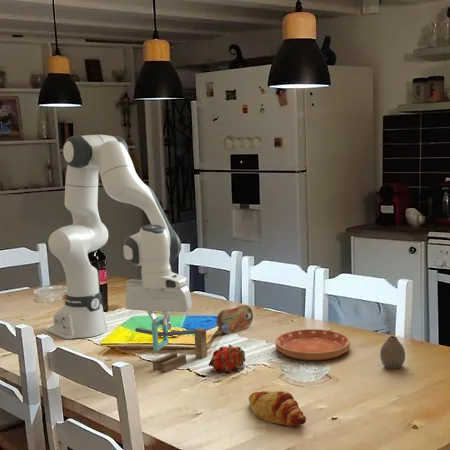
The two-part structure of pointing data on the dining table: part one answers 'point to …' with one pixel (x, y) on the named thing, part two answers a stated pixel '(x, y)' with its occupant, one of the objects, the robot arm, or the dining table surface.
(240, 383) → the dining table surface
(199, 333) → the curved rod stand
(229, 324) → the tin
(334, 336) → the saucer
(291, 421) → the croissant
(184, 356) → the slot block
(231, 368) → the dragon fruit
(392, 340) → the vase
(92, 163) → the robot arm
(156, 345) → the square ring
